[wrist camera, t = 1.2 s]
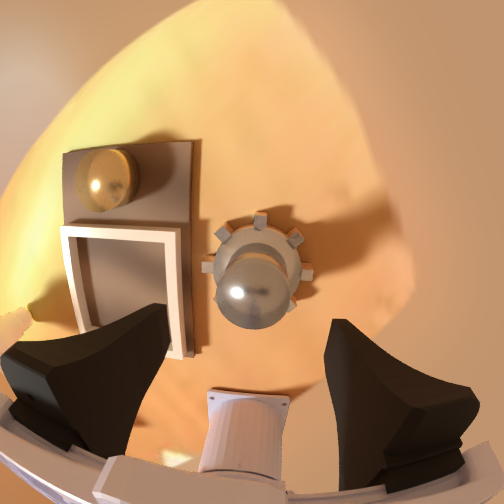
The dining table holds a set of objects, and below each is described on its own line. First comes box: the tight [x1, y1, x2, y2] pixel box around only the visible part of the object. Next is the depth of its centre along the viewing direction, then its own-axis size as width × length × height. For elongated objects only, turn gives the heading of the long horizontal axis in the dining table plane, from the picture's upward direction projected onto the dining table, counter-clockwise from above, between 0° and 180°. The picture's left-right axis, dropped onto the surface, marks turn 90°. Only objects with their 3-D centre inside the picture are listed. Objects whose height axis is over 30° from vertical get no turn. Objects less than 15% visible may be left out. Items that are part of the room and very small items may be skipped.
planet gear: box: [202, 212, 314, 329], centre depth 17 cm, size 8×8×6 cm
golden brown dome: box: [75, 149, 141, 213], centre depth 17 cm, size 4×4×2 cm
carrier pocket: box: [60, 223, 187, 360], centre depth 20 cm, size 11×11×1 cm
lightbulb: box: [0, 307, 32, 372], centre depth 19 cm, size 6×6×11 cm
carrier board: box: [62, 142, 195, 358], centre depth 20 cm, size 18×12×1 cm
